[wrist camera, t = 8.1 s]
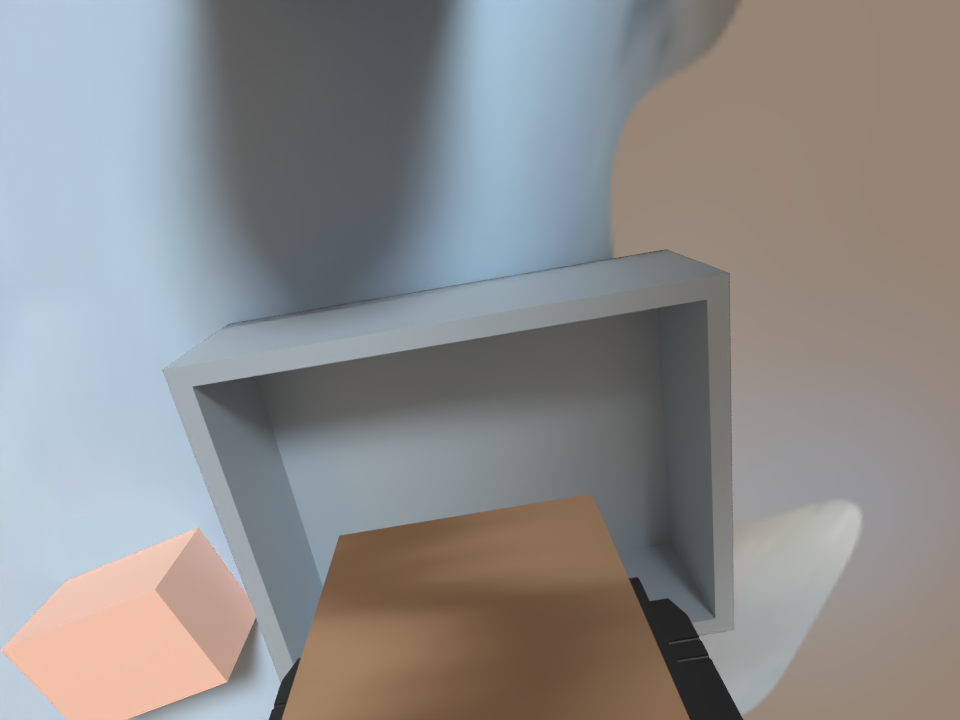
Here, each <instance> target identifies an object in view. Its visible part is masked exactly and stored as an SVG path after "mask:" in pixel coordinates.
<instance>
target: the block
mask: <svg viewBox="0 0 960 720" xmlns="http://www.w3.org/2000/svg"><path fill="white" fill-rule="evenodd" d="M282 720H690V719H689V716H688V714H687V712H686V709H685V707H684V705H683V703H682V700H681V698H680V696H679V693H678V691H677V689H676V686H675V684H674V682H673V680H672V677H671V675H670V673H669V670H668V668H667V666H666V663H665V661H664V659H663V656H662V654H661V652H660V650H659V647H658V645H657V643H656V640H655V638H654V636H653V633H652V631H651V629H650V627H649V624H648V622H647V620H646V617H645V615H644V613H643V610H642V608H641V606H640V603H639V601H638V599H637V597H636V594H635V592H634V590H633V587H632V585H631V583H630V580H629V578H628V576H627V574H626V571H625V569H624V567H623V564H622V562H621V560H620V557H619V555H618V553H617V550H616V548H615V546H614V544H613V541H612V539H611V537H610V534H609V532H608V530H607V527H606V525H605V523H604V521H603V518H602V516H601V514H600V511H599V509H598V507H597V504H596V502H595V500H594V497H593V495H592V494H587V495H581V496H575V497H569V498H563V499H557V500H551V501H545V502H539V503H533V504H527V505H521V506H515V507H509V508H502V509H496V510H490V511H484V512H478V513H472V514H466V515H460V516H454V517H448V518H442V519H436V520H430V521H424V522H418V523H412V524H406V525H400V526H394V527H388V528H382V529H376V530H370V531H364V532H358V533H352V534H346V535H340V536H339V538H338V541H337V544H336V548H335V551H334V554H333V557H332V560H331V564H330V567H329V570H328V573H327V576H326V580H325V583H324V586H323V589H322V592H321V596H320V599H319V602H318V605H317V608H316V612H315V615H314V618H313V621H312V624H311V628H310V631H309V634H308V637H307V640H306V644H305V647H304V650H303V653H302V656H301V660H300V663H299V666H298V669H297V672H296V675H295V679H294V682H293V685H292V688H291V691H290V695H289V698H288V701H287V704H286V707H285V711H284V714H283V717H282Z"/></svg>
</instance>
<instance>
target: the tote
mask: <svg viewBox="0 0 960 720" xmlns="http://www.w3.org/2000/svg"><path fill="white" fill-rule="evenodd" d="M729 275H730V274H729V273H727V272H725V271H722V270H720V269H717V268H714V267H711V266H709V265H706V264H703V263H701V262H698V261H696V260H693V259H690V258H687V257H685V256H682V255H680V254H677V253H674V252H672V251H669V250H660V251H655V252H649V253H643V254H637V255H631V256H626V257H619V258H613V259H608V260H602V261H596V262H590V263H584V264H578V265H572V266H567V267H561V268H555V269H549V270H543V271H537V272H531V273H525V274H520V275H514V276H508V277H502V278H496V279H490V280H484V281H479V282H473V283H467V284H461V285H455V286H449V287H443V288H437V289H432V290H426V291H420V292H414V293H408V294H402V295H396V296H391V297H385V298H379V299H373V300H367V301H361V302H355V303H349V304H344V305H338V306H332V307H326V308H320V309H314V310H308V311H303V312H297V313H291V314H285V315H279V316H273V317H267V318H261V319H256V320H250V321H244V322H238V323H232V324H228V325H227V326H225V327H224V328H222V329H221V330H219V331H218V332H216V333H215V334H213V335H212V336H210V337H209V338H208V339H206V340H205V341H203V342H202V343H200V344H199V345H197V346H196V347H194V348H193V349H191V350H190V351H188V352H187V353H186V354H184V355H183V356H181V357H180V358H178V359H177V360H175V361H174V362H172V363H171V364H169V365H168V366H167V367H165V368H164V369H162V370H163V373H164V376H165V378H166V381H167V384H168V386H169V389H170V392H171V394H172V397H173V399H174V402H175V405H176V407H177V410H178V413H179V415H180V418H181V421H182V423H183V426H184V429H185V431H186V434H187V436H188V439H189V442H190V444H191V447H192V450H193V452H194V455H195V458H196V460H197V463H198V465H199V468H200V471H201V473H202V476H203V479H204V481H205V484H206V487H207V489H208V492H209V495H210V497H211V500H212V502H213V505H214V508H215V510H216V513H217V516H218V518H219V521H220V524H221V526H222V529H223V532H224V534H225V537H226V539H227V542H228V545H229V547H230V550H231V553H232V555H233V558H234V561H235V563H236V566H237V568H238V571H239V574H240V576H241V579H242V582H243V584H244V587H245V590H246V592H247V595H248V598H249V600H250V603H251V605H252V608H253V611H254V613H255V616H256V619H257V621H258V624H259V627H260V629H261V632H262V635H263V637H264V640H265V642H266V645H267V648H268V650H269V653H270V656H271V658H272V661H273V664H274V666H275V669H276V671H277V674H278V677H279V679H280V682H282V680H283V678H284V677H285V676H286V674H287V673H288V672H289V670H290V669H291V668H292V666H293V665H294V663H295V662H296V661H297V659H298V658H301V656H302V653H303V650H304V647H305V644H306V640H307V637H308V634H309V631H310V628H311V624H312V621H313V618H314V615H315V612H316V608H317V605H318V602H319V599H320V596H321V592H322V589H323V586H324V583H325V580H326V576H327V573H328V570H329V567H330V564H331V560H332V557H333V554H334V551H335V548H336V544H337V541H338V538H339V536H340V535H346V534H352V533H358V532H364V531H370V530H376V529H382V528H388V527H394V526H400V525H406V524H412V523H418V522H424V521H430V520H436V519H442V518H448V517H454V516H460V515H466V514H472V513H478V512H484V511H490V510H496V509H502V508H509V507H515V506H521V505H527V504H533V503H539V502H545V501H551V500H557V499H563V498H569V497H575V496H581V495H587V494H592V495H593V497H594V500H595V502H596V504H597V507H598V509H599V511H600V514H601V516H602V518H603V521H604V523H605V525H606V527H607V530H608V532H609V534H610V537H611V539H612V541H613V544H614V546H615V548H616V550H617V553H618V555H619V557H620V560H621V562H622V564H623V567H624V569H625V571H626V574H627V576H628V578H633V577H638V578H639V579H640V581H641V583H642V585H643V587H644V590H645V592H646V594H647V596H648V598H649V601H654V600H660V599H666V598H669V599H670V600H671V601H672V602H673V603H674V604H676V605H677V606H678V607H679V608H680V609H681V610H682V611H684V612H685V613H686V614H687V615H688V617H689V619H690V621H691V622H692V624H693V626H694V628H695V630H696V632H697V634H698V636H700V635H706V634H712V633H718V632H725V631H731V630H734V593H733V513H732V437H731V436H732V433H731V358H730V356H731V355H730V281H729V280H730V279H729V278H730V277H729Z"/></svg>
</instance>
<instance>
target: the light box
mask: <svg viewBox="0 0 960 720" xmlns="http://www.w3.org/2000/svg"><path fill="white" fill-rule="evenodd" d="M255 618H256V616H255V613H254V611H253V608H252V605H251V603H250V600H249V598H248V596H247V595H246V593H245V592H244V590H243V589H242V588H241V586H240V585H239V583H238V582H237V580H236V579H235V578H234V576H233V575H232V573H231V572H230V571H229V569H228V568H227V566H226V565H225V564H224V562H223V561H222V559H221V558H220V557H219V555H218V554H217V552H216V551H215V550H214V548H213V547H212V545H211V544H210V543H209V541H208V540H207V538H206V537H205V535H204V534H203V533H202V531H201V530H200V528H199V527H198V528H196V529H194V530H191V531H189V532H186V533H184V534H181V535H179V536H176V537H174V538H171V539H169V540H166V541H164V542H161V543H159V544H156V545H154V546H151V547H149V548H146V549H144V550H141V551H139V552H136V553H134V554H131V555H129V556H126V557H124V558H121V559H119V560H116V561H114V562H111V563H109V564H106V565H104V566H101V567H99V568H96V569H94V570H91V571H89V572H86V573H84V574H81V575H79V576H76V577H74V578H71V579H69V580H66V581H65V582H64V583H63V584H62V585H61V586H60V587H59V588H58V590H57V591H56V592H55V593H54V594H53V595H52V596H51V597H50V598H49V599H48V600H47V601H46V602H45V603H44V604H43V606H42V607H41V608H40V609H39V610H38V611H37V612H36V613H35V614H34V615H33V616H32V617H31V618H30V619H29V620H28V621H27V623H26V624H25V625H24V626H23V627H22V628H21V629H20V630H19V631H18V632H17V633H16V634H15V635H14V636H13V637H12V639H11V640H10V641H9V642H8V643H7V644H6V645H5V646H4V647H3V648H2V649H1V651H2V652H3V653H4V654H5V655H6V656H7V657H8V658H9V659H10V660H11V661H12V662H13V663H14V664H15V665H16V666H17V668H18V669H19V670H20V671H21V672H22V673H23V674H24V675H25V676H26V677H27V678H28V679H29V680H30V681H31V682H32V683H33V684H34V685H35V686H36V687H37V689H38V690H39V691H40V692H41V693H42V694H43V695H44V696H45V697H46V698H47V699H48V700H49V701H50V702H51V703H52V704H53V705H54V706H55V707H56V708H57V709H58V711H59V712H60V713H61V714H62V715H63V716H64V717H65V718H66V719H67V720H127V719H129V718H132V717H135V716H138V715H140V714H143V713H146V712H148V711H151V710H154V709H157V708H159V707H162V706H165V705H167V704H170V703H173V702H175V701H178V700H181V699H184V698H186V697H189V696H192V695H194V694H197V693H200V692H202V691H205V690H208V689H211V688H213V687H216V686H219V685H221V684H224V683H227V682H228V680H229V677H230V675H231V673H232V671H233V668H234V666H235V664H236V662H237V659H238V657H239V655H240V653H241V650H242V648H243V646H244V643H245V641H246V639H247V637H248V634H249V632H250V630H251V628H252V625H253V623H254V621H255Z"/></svg>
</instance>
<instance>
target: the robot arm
mask: <svg viewBox="0 0 960 720" xmlns="http://www.w3.org/2000/svg"><path fill="white" fill-rule="evenodd" d="M629 580H630V583H631V585H632V587H633V590H634V592H635V594H636V597H637V599H638V601H639V603H640V606H641V608H642V610H643V613H644V615H645V617H646V620H647V622H648V624H649V627H650V629H651V631H652V633H653V636H654V638H655V640H656V643H657V645H658V647H659V650H660V652H661V654H662V656H663V659H664V661H665V663H666V666H667V668H668V670H669V673H670V675H671V677H672V680H673V682H674V684H675V686H676V689H677V691H678V693H679V696H680V698H681V700H682V703H683V705H684V707H685V709H686V712H687V714H688V716H689V719H690V720H743V718H742V717H741V715H740V713H739V711H738V709H737V707H736V705H735V703H734V702H733V700H732V698H731V696H730V694H729V692H728V690H727V688H726V686H725V685H724V683H723V681H722V679H721V677H720V675H719V673H718V671H717V670H716V668H715V666H714V664H713V662H712V660H711V659H710V658H709V655H708V653H707V651H706V649H705V647H704V645H703V643H702V641H700V639H699V636H698V634H697V632H696V630H695V628H694V626H693V624H692V622H691V621H690V619H689V617H688V615H687V614H686V613H685V612H684V611H682V610H681V609H680V608H679V607H678V606H677V605H676V604H674V603H673V602H672V601H671V600H670V599H669V598H666V599H660V600H654V601H649V598H648V596H647V594H646V592H645V590H644V587H643V585H642V583H641V581H640V579H639V578H638V577H633V578H629ZM300 660H301V658H298V659H297V661H296V662H295V663H294V665H293V666H292V668H291V669H290V670H289V672H288V673H287V674H286V676H285V677H284V678H283V680H282V682H281V685H280V688H279V691H278V694H277V697H276V700H275V703H274V709H272V712H271V715H270V718H269V720H282V717H283V714H284V711H285V707H286V704H287V701H288V698H289V695H290V691H291V688H292V685H293V682H294V679H295V675H296V672H297V669H298V666H299V663H300Z"/></svg>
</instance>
